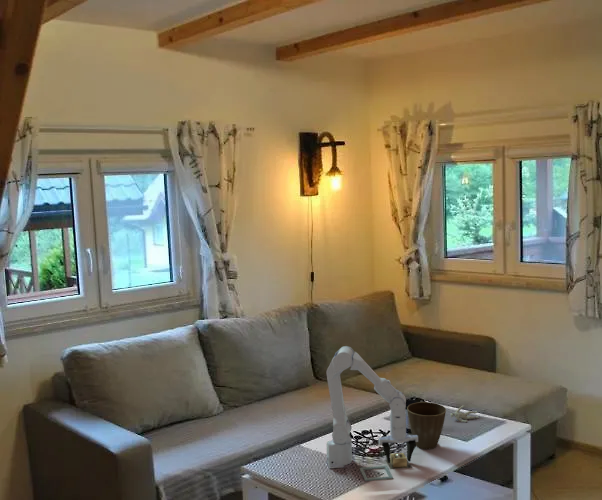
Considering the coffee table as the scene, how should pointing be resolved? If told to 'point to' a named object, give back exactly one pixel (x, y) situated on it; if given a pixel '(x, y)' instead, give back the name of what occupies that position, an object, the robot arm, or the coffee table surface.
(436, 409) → the plant pot
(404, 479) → the coffee table surface
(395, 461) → the collar
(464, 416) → the soldier figure
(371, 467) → the green square frame
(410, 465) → the stake
